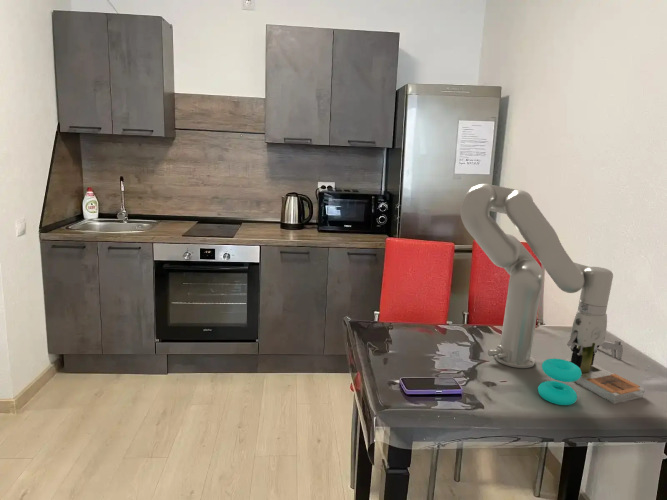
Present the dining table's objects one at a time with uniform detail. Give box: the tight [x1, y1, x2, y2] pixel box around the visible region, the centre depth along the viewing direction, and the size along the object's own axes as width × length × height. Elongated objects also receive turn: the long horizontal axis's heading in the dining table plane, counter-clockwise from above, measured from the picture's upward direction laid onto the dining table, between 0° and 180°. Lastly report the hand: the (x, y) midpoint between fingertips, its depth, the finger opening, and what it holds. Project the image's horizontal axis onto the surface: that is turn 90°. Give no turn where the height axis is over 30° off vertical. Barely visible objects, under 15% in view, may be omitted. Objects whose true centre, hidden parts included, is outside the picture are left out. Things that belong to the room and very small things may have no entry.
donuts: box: [537, 357, 582, 406], centre depth 138 cm, size 10×10×10 cm
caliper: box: [599, 340, 623, 360], centre depth 177 cm, size 20×1×6 cm, turn 23°
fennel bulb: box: [577, 343, 595, 374], centre depth 154 cm, size 6×5×12 cm
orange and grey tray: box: [563, 357, 646, 405], centre depth 150 cm, size 12×22×3 cm, turn 24°
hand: (581, 363), depth 155 cm, fingers closed on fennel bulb, 4 cm apart
